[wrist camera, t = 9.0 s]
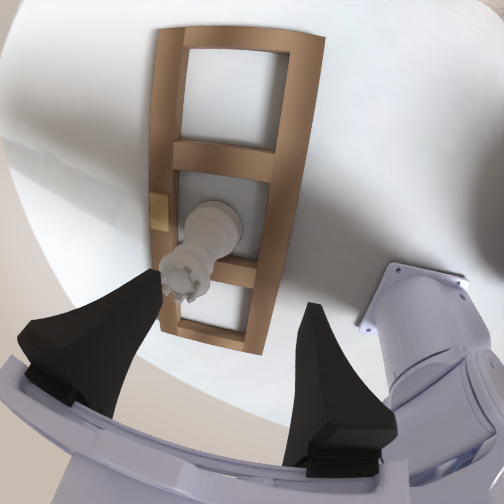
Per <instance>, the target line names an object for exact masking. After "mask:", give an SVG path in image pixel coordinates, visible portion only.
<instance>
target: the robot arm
mask: <svg viewBox="0 0 504 504" xmlns="http://www.w3.org/2000/svg"><path fill="white" fill-rule="evenodd" d="M398 268H400V269H399V270H398V271H396V269H398ZM468 285H469V281H468V279H466V278H462V277H458V276H454V275H449V274H445V273H440V272H436V271H432V270H427V269H423V268H418V267H414V266H409V265H404V264H400V263H395V262H392V263H390V264H388V266H387V268H386V270H385V273H384V275H383V277H382V280H381V282H380V284H379V286H378V288H377V291H376V293H375V295H374V297H373V299H372V301H371V303H370V305H369V307H368V309H367V311H366V313H365V315H364V317H363V319H362V321H361V323H360V325H359V332H361V333H367V334H375V335H378V336H379V341H380V345H381V350H382V355H383V360H384V366H385V371H386V377H387V383H388V389H389V396H388V397H387V398H386V399H385V400H384V401H383V403H382V402H381V401H380V400H379V399H378V398H377V397H376V396H375V395H374V394H373V393H372V392H371V391H370V390H369V388H368V387H367V386H366V385H365V384H364V382H363V381H362V380H361V379H360V377H359V376H358V375H357V373H356V372H355V371H354V369H353V368H352V366H351V365H350V363H349V362H348V360H347V358H346V357H345V355H344V353H343V351H342V350H341V348H340V346H339V344H338V342H337V340H336V338H335V336H334V334H333V332H332V329H331V327H330V325H329V323H328V320H327V318H326V315H325V313H324V310H323V307H322V306H321V304H316V303H311V302H308V304H307V307H306V310H305V313H304V316H303V319H302V321H301V324H300V327H299V330H298V335H297V343H296V358H295V398H294V405H293V412H292V418H291V424H290V430H289V436H288V440H287V446H286V451H285V455H284V459H283V464H282V466H276V465H268V464H261V463H255V462H249V461H243V460H237V459H232V458H228V457H223V456H218V455H214V454H210V453H206V452H202V451H198V450H195V449H191V448H188V447H184V446H181V445H178V444H174V443H171V442H168V441H165V440H162V439H159V438H157V437H154V436H151V435H148V434H145V433H143V432H140V431H138V430H135V429H133V428H130V427H128V426H126V425H123V424H121V423H119V422H116V421H114V420H112V418H113V414H114V410H115V407H116V403H117V399H118V397H119V394H120V391H121V387H122V385H123V382H124V379H125V376H126V374H127V372H128V369H129V367H130V364H131V362H132V360H133V358H134V356H135V354H136V352H137V350H138V348H139V347H140V345H141V343H142V342H143V340H144V338H145V337H146V335H147V333H148V332H149V330H150V328H151V327H152V325H153V323H154V322H155V320H156V318H157V316H158V314H159V311H160V309H161V307H162V304H163V294H162V284H161V272H160V271H157V270H153V269H148V270H147V271H145V272H143V273H142V274H140V275H138V276H137V277H135V278H134V279H132V280H131V281H129V282H127V283H126V284H124V285H123V286H121V287H119V288H118V289H116V290H114V291H112V292H111V293H109V294H107V295H105V296H104V297H102V298H100V299H98V300H96V301H94V302H92V303H89V304H87V305H85V306H83V307H80V308H77V309H74V310H72V311H69V312H66V313H63V314H59V315H56V316H52V317H47V318H43V319H37V320H31V321H30V322H29V323H28V324H27V325H26V327H25V328H24V329H23V330H22V331H21V333H20V334H19V335H18V336H17V340H18V344H19V346H20V347H21V349H22V351H23V352H24V354H25V355H26V357H27V358H28V360H29V361H30V363H31V365H30V366H29V367H27V366H26V365H25V364H24V363H23V362H22V361H20V360H19V359H18V358H16V357H15V356H14V355H11V356H10V357H9V358H8V360H7V361H6V362H5V364H4V365H3V367H2V368H1V369H0V400H1V401H2V402H3V403H4V404H5V405H6V406H7V407H8V408H9V409H10V410H11V411H12V412H13V413H14V414H15V415H17V416H18V417H19V418H20V419H21V420H23V421H24V422H25V423H27V424H28V425H29V426H30V427H32V428H33V429H34V430H35V431H37V432H38V433H39V434H41V435H42V436H43V437H45V438H46V439H48V440H49V441H50V442H52V443H53V444H55V445H56V446H58V447H59V448H61V449H62V450H64V451H65V452H67V453H69V454H70V455H72V457H71V460H70V462H69V464H68V466H67V468H66V470H65V472H64V475H63V477H62V479H61V481H60V484H59V486H58V488H57V490H56V493H55V495H54V497H53V500H52V502H51V504H504V477H503V474H502V472H503V471H504V366H503V364H502V363H501V361H500V360H499V359H498V357H497V356H496V355H495V354H494V353H493V352H492V351H491V339H490V334H489V331H488V329H487V327H486V325H485V323H484V321H483V319H482V318H481V316H480V314H479V312H478V311H477V309H476V307H475V305H474V304H473V302H472V300H471V299H470V297H469V295H468V294H467V292H466V291H465V290H466V289H467V287H468ZM368 328H370V329H368ZM210 471H211V472H210ZM213 472H215V473H213ZM216 473H219V474H216ZM220 474H224V475H229V476H234V477H237V478H236V479H235V478H231V477H227V476H223V475H220Z"/></svg>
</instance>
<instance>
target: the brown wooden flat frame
mask: <svg viewBox="0 0 504 504" xmlns="http://www.w3.org/2000/svg"><path fill="white" fill-rule="evenodd" d="M325 38H326V37H322V36H317V35H312V34H306V33H300V32H294V31H286V30H278V29H268V28H256V27H238V26H201V27H182V28H171V29H161V30H159V36H158V42H157V50H156V57H155V65H154V75H153V85H152V97H151V111H150V130H149V212H150V232H151V247H152V260H153V270H157V271H159V264H160V262H161V260H162V258H163V257H164V256H166V255H167V254H169V253H173V251H174V249H175V247H177V246H178V187H179V170H185V171H193V172H201V173H208V174H216V175H223V176H230V177H236V178H243V179H249V180H255V181H261V182H267V183H270V188H269V195H268V201H267V207H266V213H265V220H264V226H263V232H262V238H261V244H260V251H259V257H258V261H256V260H250V259H245V258H240V257H235V256H230V255H226V256H224V257H222V258H219V259H217V260H216V261H215V262H214V268H213V272H212V274H211V275H210V279H211V280H213V281H217V282H222V283H227V284H231V285H236V286H241V287H246V288H251V289H253V293H252V299H251V305H250V311H249V317H248V323H247V329H246V334H243V333H239V332H234V331H229V330H225V329H221V328H216V327H212V326H208V325H204V324H200V323H195V322H192V321H188V320H184V319H181V308H180V303H178V302H175V301H174V298H175V295H174V294H172V293H169V295H168V296H167V297H166V296H165V294H164V293H163V292H162V294H163V304H162V307H161V309H160V311H159V321H160V328H161V331H162V332H166V333H169V334H173V335H176V336H180V337H183V338H187V339H191V340H195V341H199V342H203V343H207V344H211V345H215V346H219V347H223V348H228V349H232V350H237V351H242V352H246V353H251V354H256V355H261V356H262V353H263V349H264V345H265V341H266V337H267V333H268V329H269V325H270V321H271V317H272V313H273V309H274V305H275V301H276V296H277V292H278V288H279V284H280V279H281V275H282V270H283V266H284V262H285V257H286V253H287V248H288V244H289V239H290V234H291V230H292V225H293V220H294V215H295V211H296V206H297V201H298V196H299V191H300V186H301V181H302V176H303V171H304V165H305V160H306V155H307V149H308V144H309V138H310V133H311V127H312V122H313V116H314V110H315V104H316V98H317V92H318V85H319V79H320V73H321V66H322V59H323V53H324V45H325ZM189 49H237V50H252V51H263V52H272V53H280V54H288V55H290V58H289V64H288V71H287V78H286V84H285V91H284V98H283V104H282V111H281V117H280V124H279V131H278V137H277V144H276V150H275V151H271V150H265V149H258V148H252V147H245V146H237V145H230V144H221V143H212V142H203V141H192V140H181V126H182V113H183V101H184V91H185V82H186V73H187V65H188V57H189ZM163 287H164V285H163V284H162V288H163Z"/></svg>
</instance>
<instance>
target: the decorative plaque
mask: <svg viewBox="0 0 504 504" xmlns="http://www.w3.org/2000/svg"><path fill="white" fill-rule="evenodd" d="M479 1H481V2H482V3H484V4H485V5H487V6H488V7H490V8H491V9H492V10H493V11H494V12H496V13H497V14H498V15H499V17H500V18H501V19H502V20H503V21H504V0H479Z"/></svg>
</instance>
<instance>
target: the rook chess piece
mask: <svg viewBox="0 0 504 504" xmlns="http://www.w3.org/2000/svg"><path fill="white" fill-rule="evenodd" d="M242 231H243V227H242V223H241V219H240V217H239V216H238V215H237V213H236V212H235V211H234V209H232V208H231V207H229V206H228V205H226V204H225V203H223V202H218V201H213V200H211V201H205V202H201V203H200V204H198V205H197V206H195V207H194V208H193V209H192V211H191V213H190V214H189V215H188V217H187V219H186V221H185V225H184V235H185V237H184V238H185V239H184V241H183V243H181V244H180V245H178V246H177V247H175V249H174V251H173V253H169V254H167V255H166V256H164V257H163V258H162V260H161V262H160V264H159V271H160V272H161V284H163V285H164V287H163V288H162V292H163V293H164V294H165V296H166V297H167V296H168V295H169V293H172V294H174V295H175V298H174V301H175V302H178V303H182V301H183V300H184V298H187V299H186V300H187V301H188V303H190V302H193V301H195V299H196V298H198V297H200V296H202V295H204V294H205V293H206V292H207V290H208V289H209V288H210V280H211V279H210V275H211V274H212V272H213V268H214V262H215V261H216V260H217V259H219V258H222V257H224V256H226V255H228V254H230V253H231V252H232V251H233V250H234V249H235V247H236V246H237V245H238V242H239V241H240V240H241V237H242Z"/></svg>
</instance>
